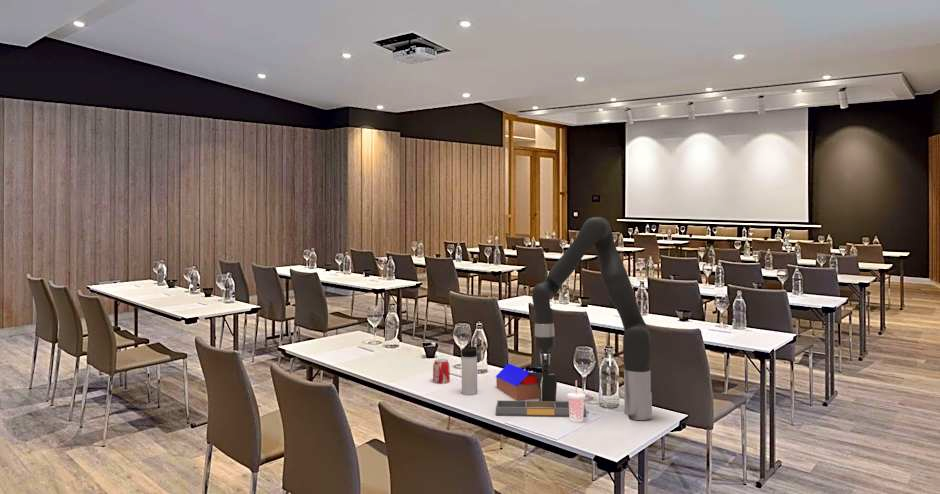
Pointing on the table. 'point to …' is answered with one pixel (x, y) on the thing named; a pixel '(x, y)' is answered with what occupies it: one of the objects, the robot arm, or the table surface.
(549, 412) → the tray
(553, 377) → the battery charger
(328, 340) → the table surface
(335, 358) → the table surface
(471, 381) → the travel mug
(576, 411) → the beverage cup
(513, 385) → the house
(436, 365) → the soda can
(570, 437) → the table surface
